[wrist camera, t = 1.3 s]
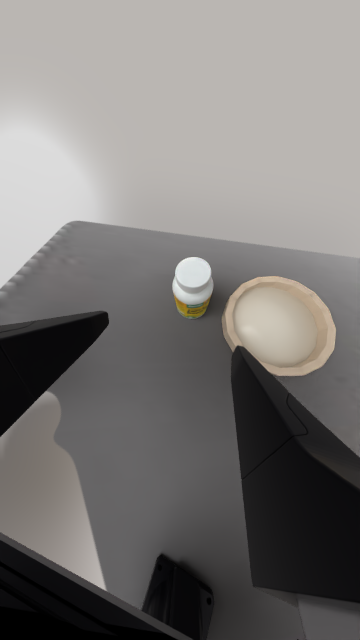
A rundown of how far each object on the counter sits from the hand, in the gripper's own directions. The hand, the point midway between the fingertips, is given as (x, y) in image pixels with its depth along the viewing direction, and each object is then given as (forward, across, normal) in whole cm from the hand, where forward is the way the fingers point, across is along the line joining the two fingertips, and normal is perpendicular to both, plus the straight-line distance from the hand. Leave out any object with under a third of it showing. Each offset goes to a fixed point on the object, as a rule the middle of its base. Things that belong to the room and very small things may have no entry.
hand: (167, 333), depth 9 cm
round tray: (+15, -13, +4) cm, 20 cm away
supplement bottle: (+16, 0, +4) cm, 16 cm away
